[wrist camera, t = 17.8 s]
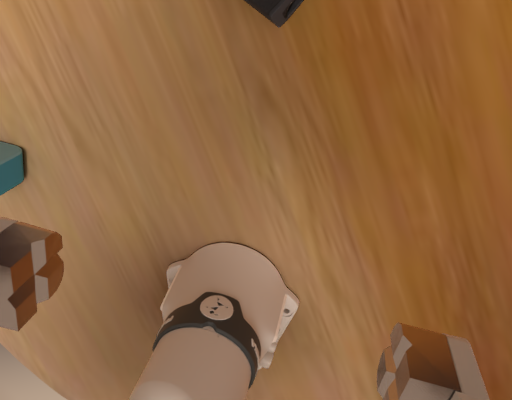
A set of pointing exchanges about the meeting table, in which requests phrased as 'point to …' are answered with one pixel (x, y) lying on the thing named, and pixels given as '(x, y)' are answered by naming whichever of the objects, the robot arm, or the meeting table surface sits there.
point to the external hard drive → (276, 9)
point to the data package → (10, 166)
